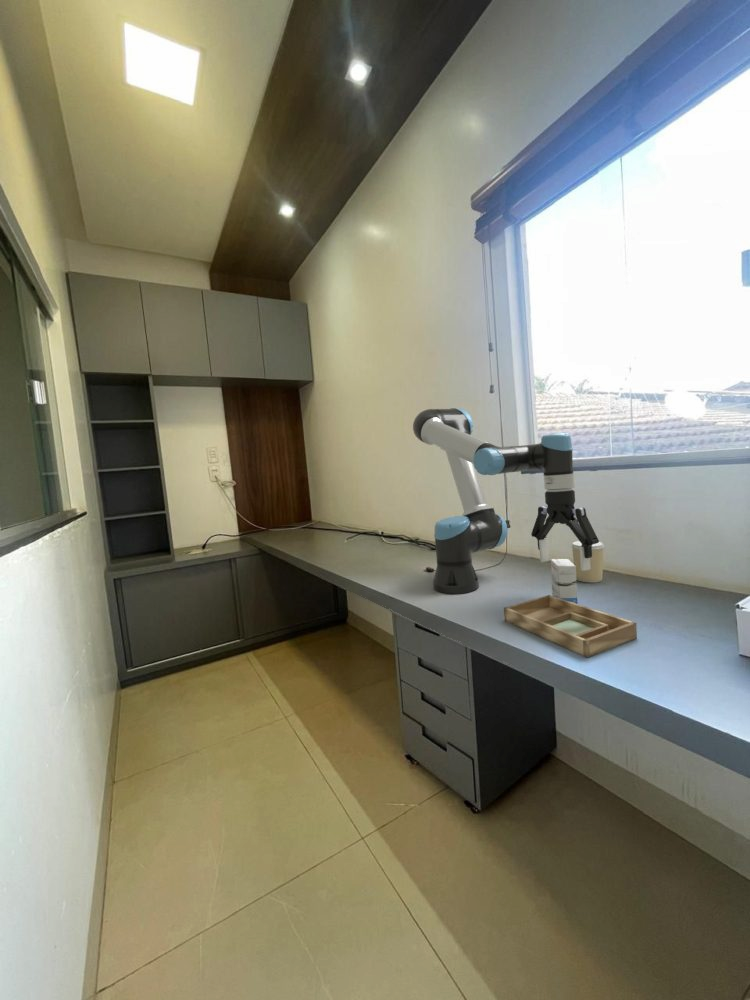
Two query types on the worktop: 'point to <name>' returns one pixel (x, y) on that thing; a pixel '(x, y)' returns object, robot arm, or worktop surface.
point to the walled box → (571, 625)
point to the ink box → (564, 580)
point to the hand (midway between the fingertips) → (564, 565)
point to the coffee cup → (595, 563)
